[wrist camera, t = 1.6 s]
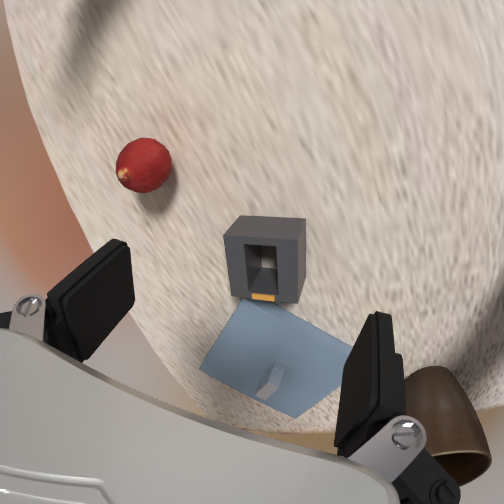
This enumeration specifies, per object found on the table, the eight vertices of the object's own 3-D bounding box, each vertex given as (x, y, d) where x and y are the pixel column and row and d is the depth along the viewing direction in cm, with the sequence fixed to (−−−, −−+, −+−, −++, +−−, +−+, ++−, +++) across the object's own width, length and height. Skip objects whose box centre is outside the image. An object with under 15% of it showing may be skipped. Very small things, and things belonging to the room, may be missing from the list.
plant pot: (477, 334, 33) (501, 438, 19) (473, 397, 38) (483, 483, 24) (373, 359, 39) (364, 464, 26) (388, 415, 44) (381, 501, 31)
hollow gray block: (305, 218, 33) (297, 240, 29) (305, 277, 36) (297, 304, 32) (240, 215, 35) (222, 236, 31) (245, 271, 39) (230, 296, 34)
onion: (162, 190, 37) (121, 216, 30) (134, 154, 35) (88, 173, 29) (194, 160, 34) (153, 182, 27) (162, 122, 32) (116, 135, 26)
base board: (365, 354, 39) (365, 365, 38) (298, 409, 49) (295, 418, 48) (248, 288, 40) (243, 298, 38) (203, 360, 50) (198, 369, 48)
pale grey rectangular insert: (285, 365, 42) (278, 387, 38) (272, 378, 44) (264, 400, 41) (275, 360, 42) (267, 382, 38) (262, 374, 44) (254, 395, 41)
